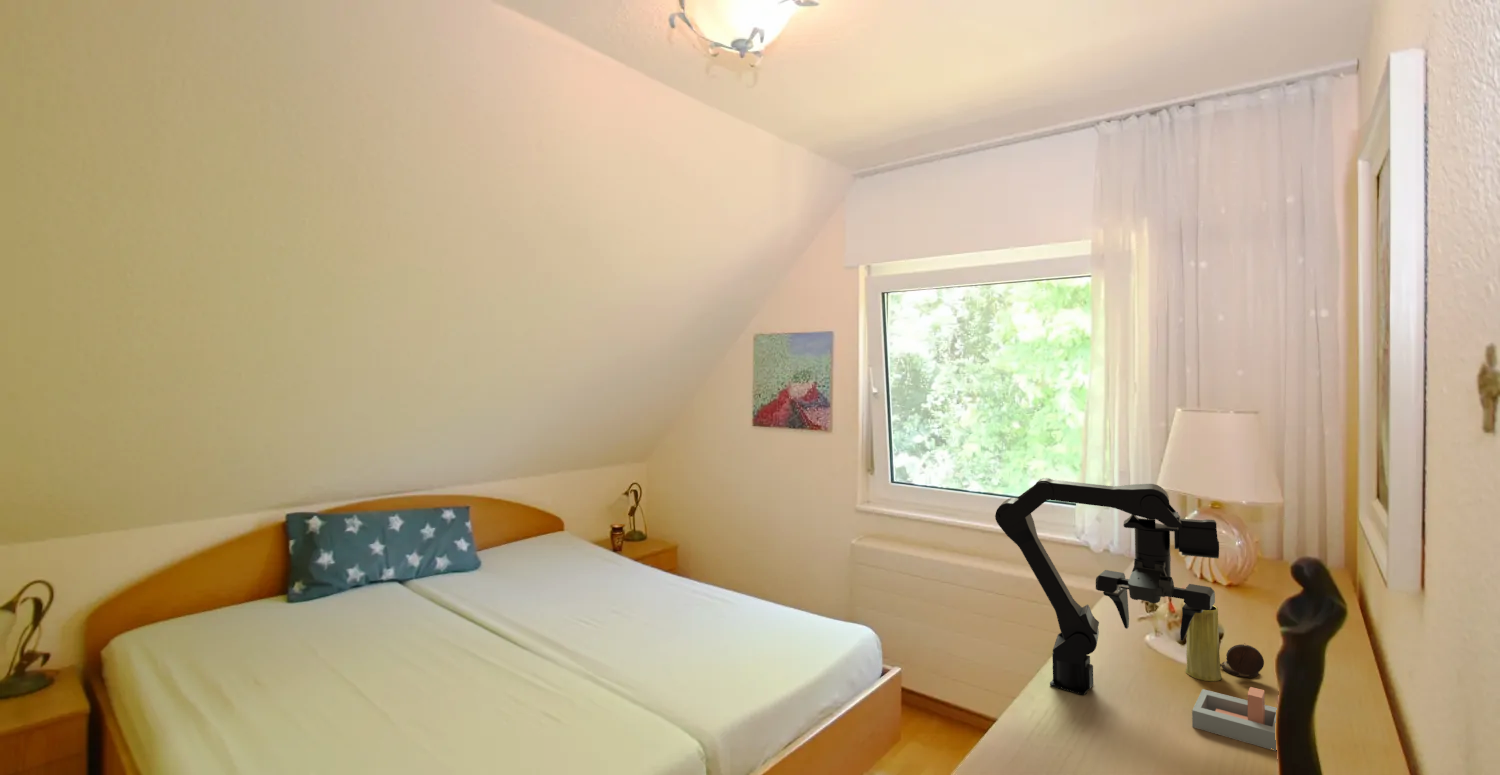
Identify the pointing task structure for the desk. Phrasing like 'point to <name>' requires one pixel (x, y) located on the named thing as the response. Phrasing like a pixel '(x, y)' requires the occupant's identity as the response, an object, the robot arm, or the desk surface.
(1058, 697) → the desk surface
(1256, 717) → the bracket
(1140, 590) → the robot arm
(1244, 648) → the compass
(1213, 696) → the well block
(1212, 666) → the vase
